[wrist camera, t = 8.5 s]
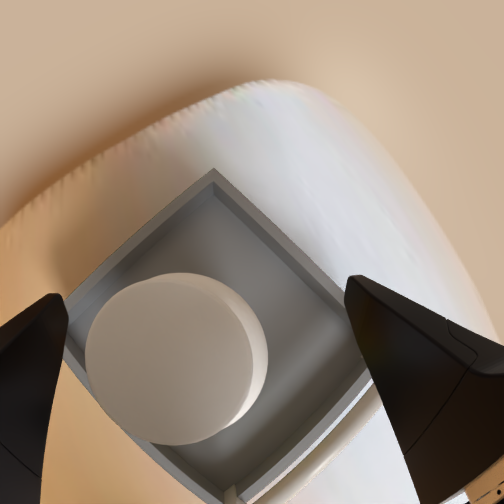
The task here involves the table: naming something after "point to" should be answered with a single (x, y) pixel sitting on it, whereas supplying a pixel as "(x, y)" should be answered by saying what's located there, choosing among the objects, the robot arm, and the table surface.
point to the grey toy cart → (276, 333)
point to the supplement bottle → (176, 358)
